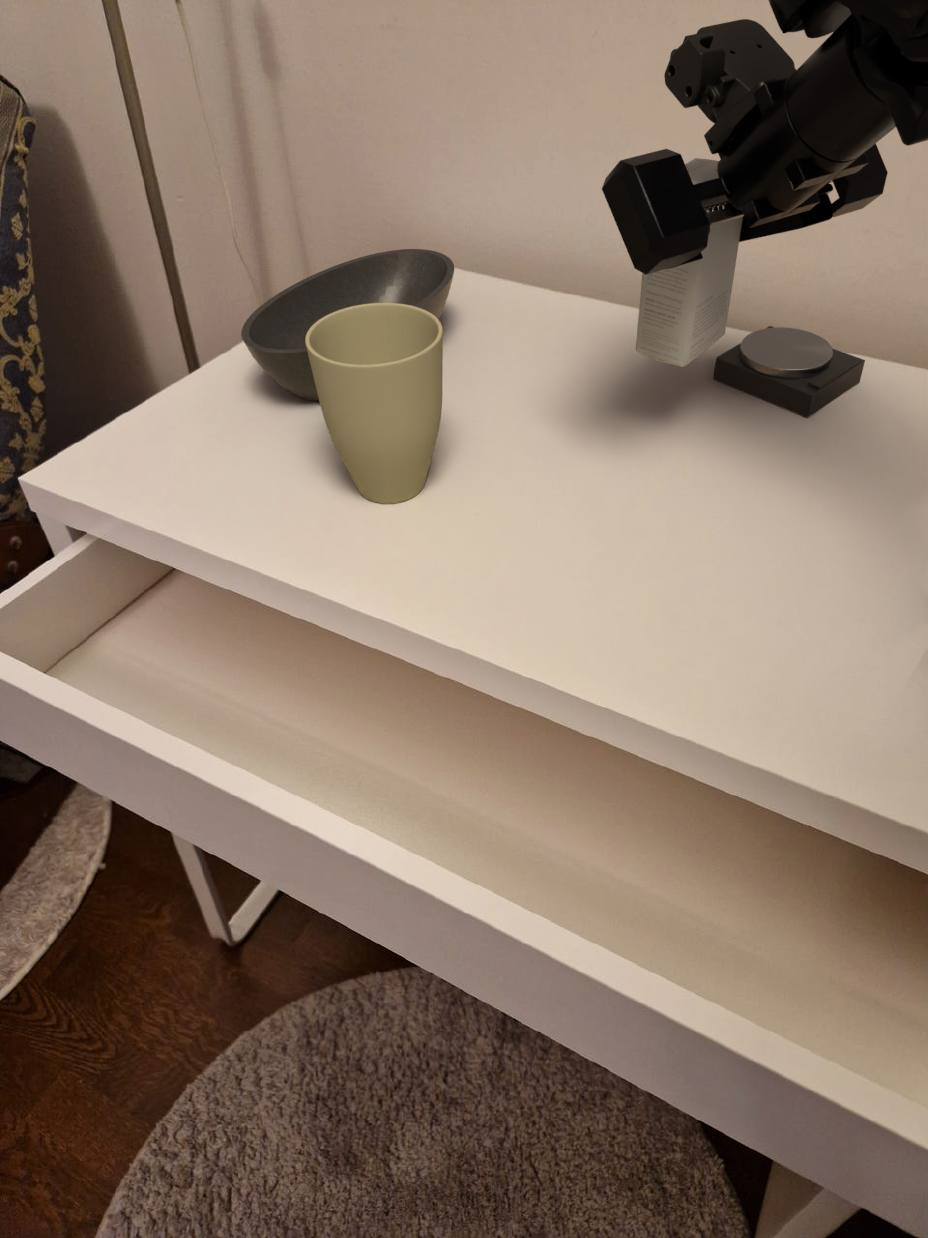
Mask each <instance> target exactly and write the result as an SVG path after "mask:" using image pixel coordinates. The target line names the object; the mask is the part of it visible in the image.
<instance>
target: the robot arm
mask: <svg viewBox="0 0 928 1238" xmlns="http://www.w3.org/2000/svg"><path fill="white" fill-rule="evenodd" d="M768 3H769V5H770V8H771V11H772V12H773V15H774V18H775V20H776V22H777V25H778V27H779V29H780V31H781V33H782V34H788V33H797V32H801V31H803V32H804V34H805V36H806V37H807V39H819V38H823V37H825V36H827V35H829V36H828V37H827V38H826V39H825V40H824V41H823V42H822V43H821V44H820V45H819V47H818V48H816V50H815V51H813V53H812V54H810V55H809V56H808V57H807V59H806V60H805V61H804V62H802V64H801V65H800V66H799V67H798V68H797V69H796V66H795V62H794V60H793V58H792V57H791V56H790V55H789V54H788V53H787V52H786V51H785V50H784V48H783V47H782V45H780V44H779V43H778V42H777V40H776V39H775V38H774V37H773V36H772V35H771V34H770V32H769V31H767V29H766V28H765V27H764V26H763V25H762V24H761V23H759V22H757V21H755V20H752V19H748V18H742V19H737V20H732V21H727V22H721V23H717V24H711V25H707V26H703V27H700V28H699V29H698V30H697V31H696V33H694V34H693V33H692V34H689V35H685V36H684V38H683V41H682V44H680V46H678V47H677V48H674V49H672V51H671V52H670V55H669V61H668V63H667V66H666V69H665V71H664V74H663V76H664V84H665V86H666V88H667V89H668V90H669V92H671V94H672V95H673V96H674V97H675V99H676V100H677V102H679V104H680V105H681V106H682V107H683V108H684V109H689V108H693V107H697V108H698V109H700V111H701V112H702V113H703V114H704V115H705V117H706V118H707V119H708V120H709V121H710V122H711V123H713V125H712V126H711V127H710V128H709V129H708V130H707V131H706V132H705V133H704V134H703V137H704V139H705V142H706V144H707V147H708V150H709V152H710V153H711V155H716V154H717V155H718V157H719V160H718V161H719V162H718V163H717V164H716V165H715V169H716V171H717V174H718V177H719V178H717V179H713V180H709V181H706V182H702V183H698V184H695V185H693V183H692V180H691V178H690V175H689V173H688V170H687V168H686V166H685V164H686V163H685V161H684V158H683V156H682V154H681V153H679V152H677V151H674V150H672V149H668V148H663V149H659V150H656V151H651V152H647V153H643V154H640V155H636V156H632V157H628V158H624V159H620V160H619V161H618V162H617V164H616V165H615V166H614V167H613V168H612V170H611V171H610V172H609V173H608V174H607V175H606V177H605V179H604V181H603V184H602V186H601V191H602V193H603V196H604V198H605V201H606V203H607V205H608V208H609V210H610V212H611V215H612V217H613V219H614V222H615V224H616V227H617V229H618V231H619V234H620V236H621V239H622V241H623V244H624V246H625V248H626V251H627V253H628V256H629V259H630V261H631V263H632V265H633V268H634V269H635V270H636V271H638V272H640V273H641V274H642V273H643V274H645V275H647V274H651V273H654V272H657V271H660V270H664V269H671V268H674V267H678V266H681V265H684V264H687V263H691V262H694V261H697V260H700V259H702V258H703V256H702V254H701V252H702V251H703V250H704V249H705V248H706V247H707V243H708V235H709V233H710V226H712V225H715V224H719V223H722V222H725V221H729V220H732V219H736V218H739V217H742V216H743V219H742V226H741V232H740V239H739V243H742V242H746V241H751V240H755V239H759V238H764V237H765V238H766V237H769V236H773V235H777V234H783V233H787V232H792V231H796V230H800V229H804V228H805V229H806V228H807V227H811V226H814V225H818V224H820V223H824V222H828V221H830V220H831V219H832V218H836V217H837V218H838V217H840V216H842V215H846V214H850V213H853V212H856V211H860V210H862V209H864V208H865V207H867V206H868V205H869V204H871V203H872V202H873V201H875V200H876V199H878V198H879V197H880V196H882V194H884V190H885V186H886V183H887V177H888V173H889V172H888V169H887V167H886V165H885V162H884V160H883V158H882V155H881V153H880V150H879V148H878V144H877V143H879V141H881V140H882V139H883V138H884V137H886V136H887V135H888V134H890V133H891V131H893V130H895V129H896V130H897V133H898V135H899V138H900V140H901V142H902V144H903V145H905V146H913V145H916V144H919V143H923V142H926V141H928V0H768ZM832 183H833V185H832ZM834 188H835V191H836V193H837V195H838V198H837V199H835V200H834V201H833V202H832V201H831V198H830V196H829V194H830V193H831V192H833V191H834ZM725 203H726V204H725ZM714 206H715V207H714ZM710 207H711V208H710ZM709 208H710V209H709ZM704 209H705V210H704Z"/></svg>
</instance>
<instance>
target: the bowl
mask: <svg viewBox="0 0 928 1238" xmlns="http://www.w3.org/2000/svg"><path fill="white" fill-rule="evenodd" d="M454 273H455V264H454V262H453V260H452V259H451V257H449V256H447V255H446V254H443V253H442V252H439V251H435V250H430V249H424V248H423V249H422V248H404V249H394V250H393V249H392V250H387V251H382V252H375V253H372V254H371V253H370V254H368V255H364V256H360V257H357V258H353V259H350V260H347V261H344V262H342V263H339V264H336V265H333V266H331V267H328V268H326V269H324V270H321V271H318V272H316V273H314V274H312V275H309V276H308V277H306V278H304V279H302V280H300V281H298V282H296V283H294V284H292V285H290V286H289V287H287V288H285V289H283V290H282V291H279V292H278V293H277V294H275V295H274V296H272V297H270V298H269V299H268V300H266V301H265V302H263V304H260V306H259V307H257V308H256V310H254V311H253V312H252V313H251V314H250V315H249V316H248V317H247V319H246V321H245V322H244V323H243V326H242V328H241V333H240V336H241V339H242V342H243V343H244V345H245V347H246V348H247V350H248V351H249V353H250V355H251V356H252V358H253V359H254V360H255V362H257V364H258V365H259V367H260V368H261V369H262V370H263V371H264V372H265V373H266V374H267V375H268V376H269V377H270V378H271V379H272V380H273V381H274V382H276V383H277V384H278V385H279V386H281V387H282V388H283V389H285V390H287V391H288V392H289V393H292V394H294V395H296V396H297V397H300V398H302V399H303V400H307V401H312V402H313V401H314V402H320V401H319V397H318V393H317V389H316V385H315V381H314V377H313V372H312V368H311V364H310V360H309V356H308V352H307V348H306V342H305V338H306V334H307V332H308V330H309V329H310V328H311V326H312V325H313V324H315V323H316V322H317V321H318V320H320V319H321V318H323V317H325V316H327V315H329V314H331V313H333V312H335V311H338V310H341V309H344V308H348V307H352V306H357V305H362V304H371V303H398V304H405V305H411V306H415V307H418V308H421V309H424V310H426V311H428V312H430V313H431V314H433V315H434V316H435V317H436V318H437V319H438V320H439V321H440V318H441V316H442V313H443V311H444V308H445V305H446V303H447V300H448V298H449V294H450V290H451V287H452V283H453V278H454Z"/></svg>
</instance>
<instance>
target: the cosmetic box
mask: <svg viewBox="0 0 928 1238" xmlns="http://www.w3.org/2000/svg"><path fill="white" fill-rule="evenodd" d="M719 161H720V160H715V159H707V158H699V157H695V158H693V159H691V160H690V161H688V162H686V163H685V166H686V168H687V170H688V173H689V175H690V178H691V180H692V183H693V185H695V184H698V183H702V182H706V181H709V180H713V179H717V178H719V177H718V174H717V171H716V169H715V165H716V164H717V163H718V162H719ZM725 204H726V203H725ZM714 207H715V206H714ZM710 208H711V207H710ZM710 208H709V209H710ZM704 210H705V209H704ZM742 219H743V216H742V217H739V218H736V219H732V220H729V221H725V222H722V223H719V224H715V225H712V226H710V233H709V235H708V243H707V247H706V248H705V249H704V250H703V251H702V252H701V254H702V256H703V258H702V259H700V260H697V261H694V262H691V263H687V264H684V265H681V266H678V267H674V268H671V269H664V270H660V271H657V272H654V273H651V274H647V275H645V274H643V273H642V272H641V287H640V296H639V297H640V298H639V307H638V318H637V328H636V329H637V330H636V341H635V352H636V353H637V354H638V355H639V354H640V355H643V356H645V357H646V358H650V359H653V360H655V361H658V362H662V363H665V364H668V365H673V366H677V367H682V368H683V367H687V366H688V365H690V363H691V362H693V361H694V360H695V359H697V357H699V356H700V355H701V354H703V353H704V352H705V351H706V350H707V349H709V348H710V347H711V346H713V345H714V344H715V343H716V342H717V341H719V340H720V339H721V338H723V337H724V336H725V334H726V329H727V323H728V316H729V311H730V305H731V297H732V292H733V286H734V285H733V284H734V278H735V271H736V264H737V258H738V251H739V245H740V242H739V239H740V232H741V226H742Z"/></svg>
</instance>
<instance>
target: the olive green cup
mask: <svg viewBox="0 0 928 1238" xmlns="http://www.w3.org/2000/svg"><path fill="white" fill-rule="evenodd" d="M305 342H306V348H307V352H308V356H309V360H310V364H311V368H312V372H313V377H314V381H315V385H316V389H317V393H318V397H319V401H318V402H319V405H320V409H321V413H322V417H323V419H324V423H325V426H326V429H327V431H328V434H329V437H330V438H331V441H332V442H333V445H334V447H335V450H336V451H337V453H338V454H339V456H340V458H341V461H342V462H343V464H344V465H345V467H346V469H347V471H348V473H349V475H350V477H351V478H352V480H353V482H354V484H355V486H356V488H357V490H358V492H359V493H360V494H361V496H362V497H364V498H365V499H367V500H368V501H370V502H373V503H377V504H381V505H382V504H385V505H389V504H390V505H391V504H399V503H404V502H407V501H409V500H411V499H413V498H415V497H416V496H417V495H418V494H420V493H421V491H422V490H423V488H424V486H425V483H426V480H427V479H426V478H427V476H428V472H429V468H430V464H431V462H432V457H433V454H434V451H435V450H434V449H435V446H436V442H437V439H438V436H439V431H440V426H441V419H442V411H443V409H442V408H443V373H444V372H443V369H444V368H443V366H444V365H443V362H444V361H443V360H444V359H443V357H444V356H443V355H444V353H443V352H444V351H443V350H444V328H443V325H442V323H441V321H440V319H439V320H438V319H437V318H436V317H435V316H434V315H433V314H431V313H430V312H428V311H426V310H424V309H421V308H418V307H415V306H411V305H405V304H398V303H371V304H362V305H357V306H352V307H348V308H344V309H341V310H338V311H335V312H333V313H331V314H329V315H327V316H325V317H323V318H321V319H320V320H318V321H317V322H316V323H315V324H313V325H312V326H311V328H310V329H309V330H308V332H307V334H306V338H305Z"/></svg>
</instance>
